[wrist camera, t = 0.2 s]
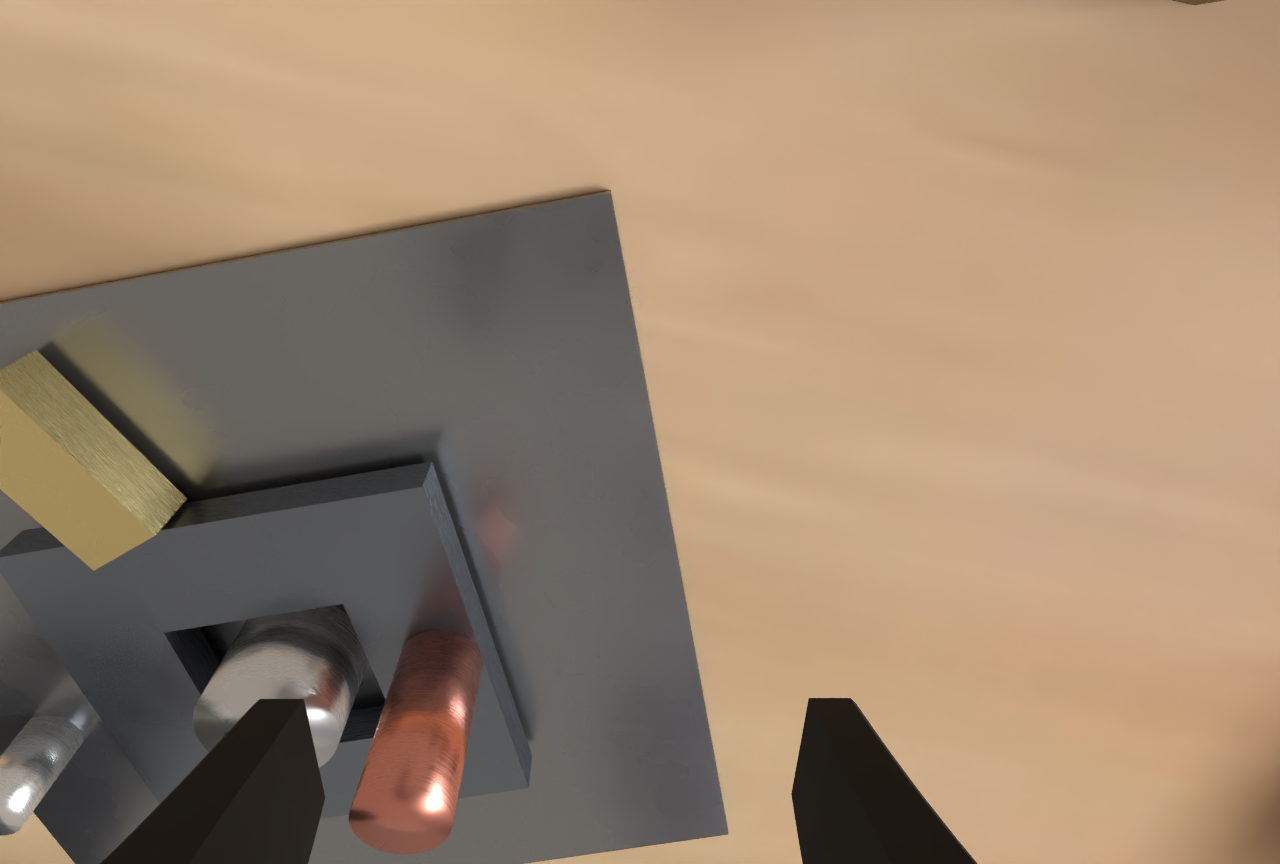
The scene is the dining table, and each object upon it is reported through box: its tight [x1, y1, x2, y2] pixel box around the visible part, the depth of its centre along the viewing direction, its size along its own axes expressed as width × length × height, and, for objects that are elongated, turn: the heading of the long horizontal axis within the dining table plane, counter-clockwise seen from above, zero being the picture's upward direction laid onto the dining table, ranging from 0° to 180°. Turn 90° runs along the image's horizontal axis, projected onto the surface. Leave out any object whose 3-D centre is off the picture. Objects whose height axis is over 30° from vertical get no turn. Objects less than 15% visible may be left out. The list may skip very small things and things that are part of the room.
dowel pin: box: [0, 715, 83, 835], centre depth 23 cm, size 2×2×3 cm
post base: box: [0, 190, 728, 864], centre depth 22 cm, size 22×22×3 cm
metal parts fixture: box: [0, 350, 532, 855], centre depth 19 cm, size 15×11×6 cm
